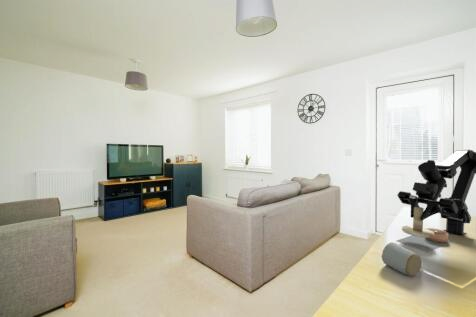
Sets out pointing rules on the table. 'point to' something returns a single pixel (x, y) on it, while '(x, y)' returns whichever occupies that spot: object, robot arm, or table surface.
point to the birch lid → (418, 225)
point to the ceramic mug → (401, 259)
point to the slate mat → (422, 243)
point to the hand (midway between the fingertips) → (416, 218)
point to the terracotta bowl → (439, 235)
